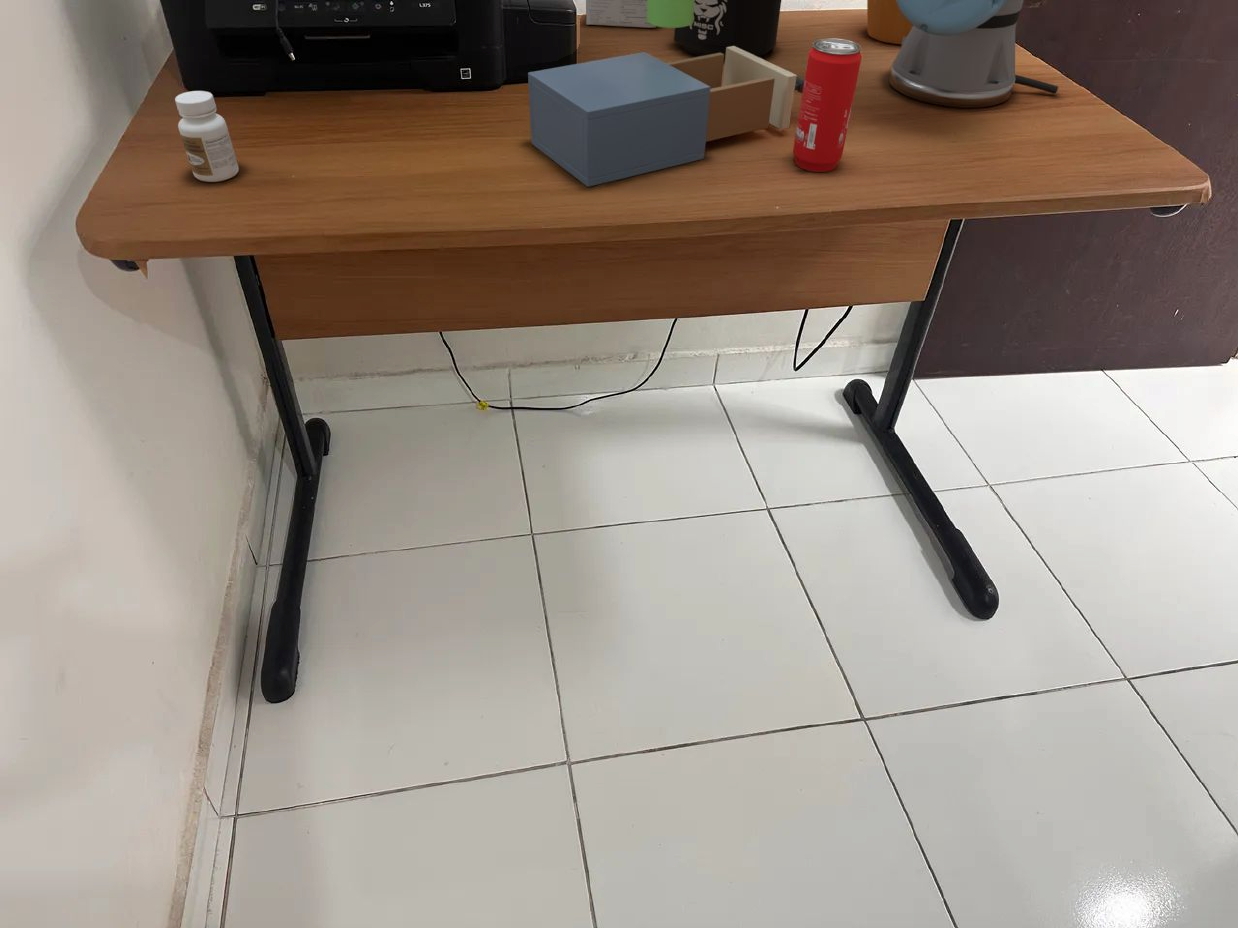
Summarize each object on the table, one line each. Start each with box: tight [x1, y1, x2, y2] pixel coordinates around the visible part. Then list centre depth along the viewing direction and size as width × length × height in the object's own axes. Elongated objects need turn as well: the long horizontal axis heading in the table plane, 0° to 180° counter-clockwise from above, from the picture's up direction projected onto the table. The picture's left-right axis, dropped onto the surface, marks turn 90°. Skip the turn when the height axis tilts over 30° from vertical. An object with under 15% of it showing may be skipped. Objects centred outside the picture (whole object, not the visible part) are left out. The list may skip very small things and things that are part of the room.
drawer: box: [665, 46, 805, 143], centre depth 98 cm, size 18×11×6 cm, turn 121°
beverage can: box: [792, 37, 862, 173], centre depth 89 cm, size 5×5×12 cm
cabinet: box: [527, 51, 710, 188], centre depth 92 cm, size 15×13×8 cm
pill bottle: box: [174, 90, 240, 183], centre depth 86 cm, size 4×4×8 cm
